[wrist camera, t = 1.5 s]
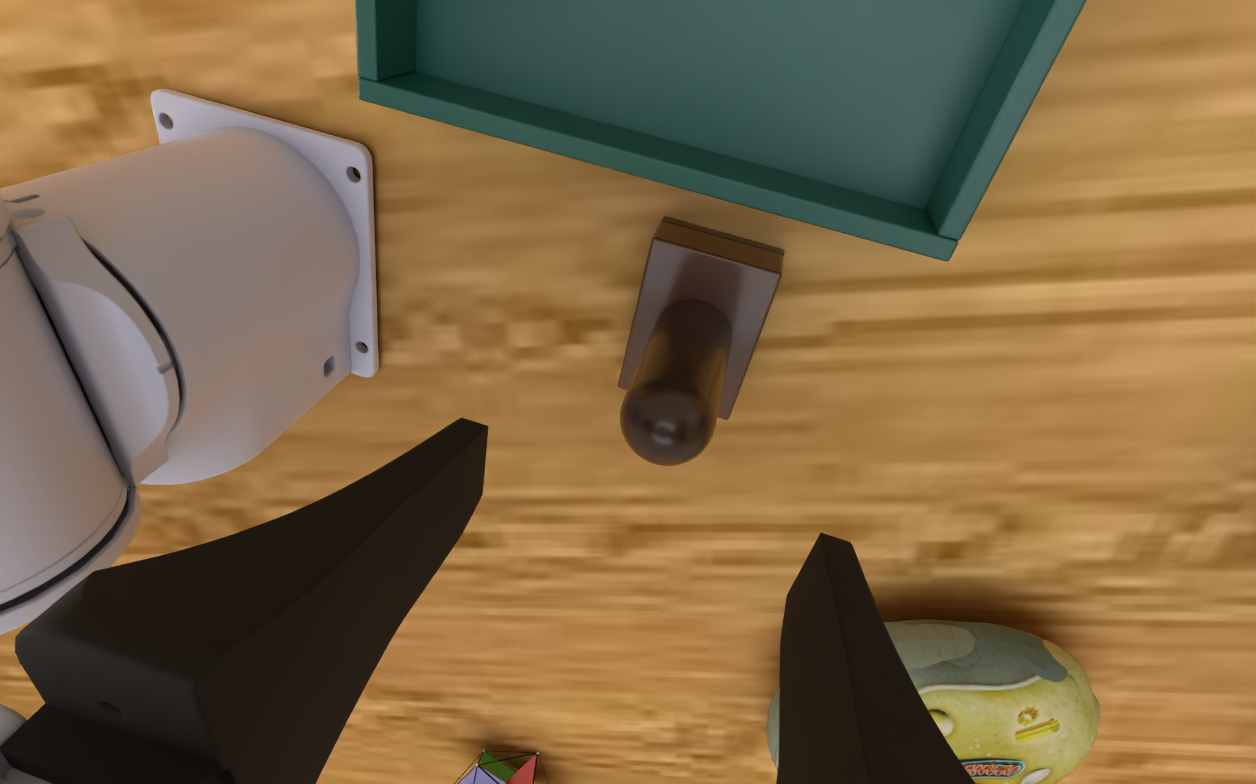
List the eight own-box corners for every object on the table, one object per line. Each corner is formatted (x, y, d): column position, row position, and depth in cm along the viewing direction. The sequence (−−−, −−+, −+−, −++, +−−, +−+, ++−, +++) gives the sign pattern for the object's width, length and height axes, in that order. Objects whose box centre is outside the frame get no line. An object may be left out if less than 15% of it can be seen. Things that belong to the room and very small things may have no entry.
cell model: (1185, 723, 24) (938, 972, 28) (1033, 590, 31) (852, 802, 35) (987, 631, 21) (735, 928, 24) (867, 506, 28) (686, 750, 32)
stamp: (733, 390, 24) (706, 546, 17) (629, 359, 24) (565, 501, 18) (784, 249, 21) (775, 378, 14) (663, 216, 21) (600, 327, 14)
